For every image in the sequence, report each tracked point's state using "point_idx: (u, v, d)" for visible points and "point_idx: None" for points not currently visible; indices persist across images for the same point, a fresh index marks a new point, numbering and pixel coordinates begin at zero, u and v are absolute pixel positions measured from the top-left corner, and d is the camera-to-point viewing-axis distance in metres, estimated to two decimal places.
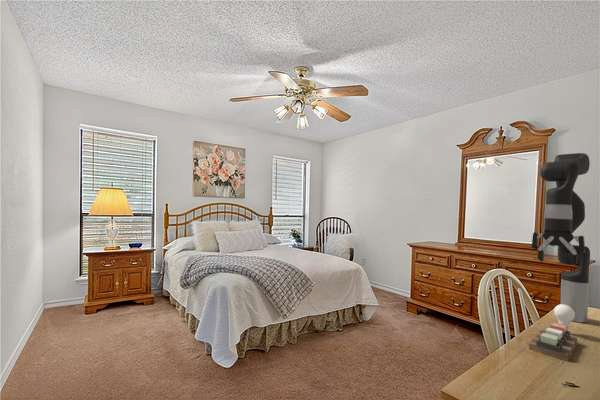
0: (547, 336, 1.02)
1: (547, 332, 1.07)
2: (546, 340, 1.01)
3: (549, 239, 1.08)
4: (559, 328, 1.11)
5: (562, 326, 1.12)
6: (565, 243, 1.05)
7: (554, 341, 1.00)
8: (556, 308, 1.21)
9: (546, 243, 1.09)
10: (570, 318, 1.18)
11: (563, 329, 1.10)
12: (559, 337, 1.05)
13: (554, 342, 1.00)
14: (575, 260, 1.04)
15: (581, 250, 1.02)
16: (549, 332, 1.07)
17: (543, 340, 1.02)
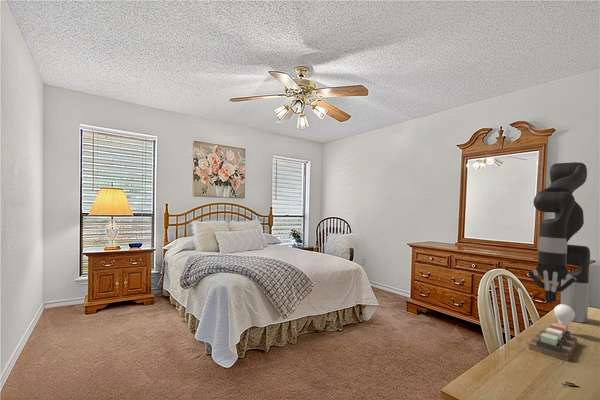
0: (547, 336, 1.02)
1: (547, 332, 1.07)
2: (546, 340, 1.01)
3: (545, 274, 1.02)
4: (559, 328, 1.11)
5: (562, 326, 1.12)
6: (554, 278, 1.01)
7: (554, 341, 1.00)
8: (556, 308, 1.21)
9: (546, 280, 1.02)
10: (570, 318, 1.18)
11: (563, 329, 1.10)
12: (559, 337, 1.05)
13: (554, 342, 1.00)
14: (554, 297, 1.01)
15: (560, 288, 1.00)
16: (549, 332, 1.07)
17: (543, 340, 1.02)
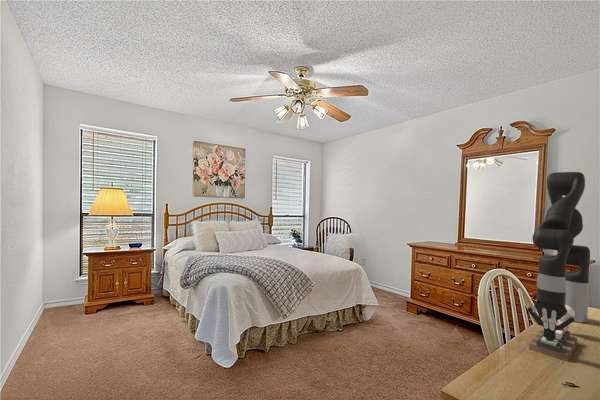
0: None
1: None
2: None
3: (544, 312, 1.02)
4: None
5: None
6: (553, 317, 1.00)
7: (554, 345, 1.00)
8: None
9: (545, 318, 1.02)
10: None
11: (563, 329, 1.10)
12: (559, 337, 1.05)
13: None
14: (553, 336, 1.01)
15: (559, 327, 0.99)
16: None
17: None
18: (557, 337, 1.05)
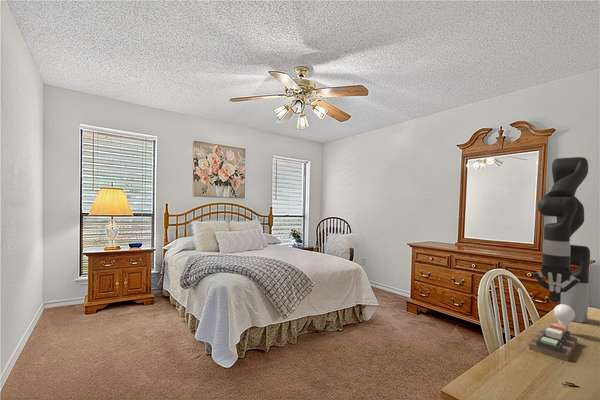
0: (547, 339, 1.02)
1: (547, 332, 1.07)
2: None
3: (549, 276, 1.07)
4: (559, 328, 1.11)
5: (562, 326, 1.12)
6: (558, 280, 1.06)
7: (554, 345, 1.00)
8: (556, 308, 1.21)
9: (551, 281, 1.07)
10: (570, 318, 1.18)
11: (563, 329, 1.10)
12: (559, 337, 1.05)
13: None
14: (558, 298, 1.06)
15: (564, 289, 1.05)
16: (549, 332, 1.07)
17: None
18: (557, 337, 1.05)
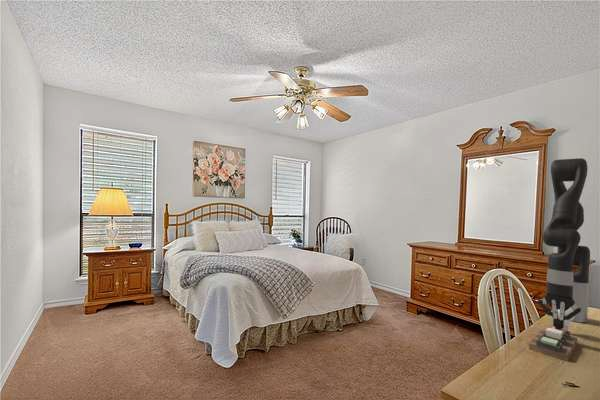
0: (547, 339, 1.02)
1: (547, 332, 1.07)
2: None
3: (553, 304, 1.13)
4: None
5: (562, 329, 1.12)
6: (561, 308, 1.11)
7: (554, 345, 1.00)
8: None
9: (554, 308, 1.12)
10: None
11: (563, 333, 1.10)
12: (559, 337, 1.05)
13: None
14: (561, 325, 1.11)
15: (567, 316, 1.10)
16: (549, 332, 1.07)
17: None
18: (557, 337, 1.05)
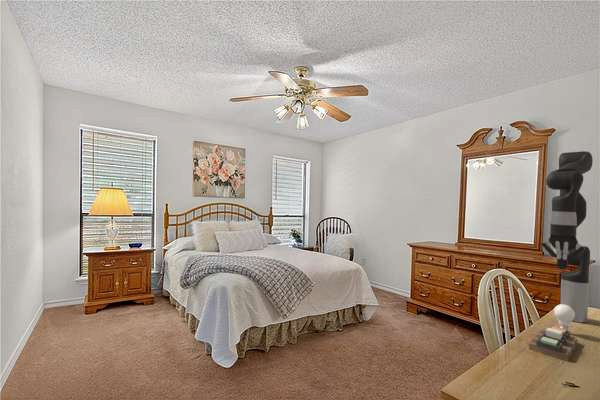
0: (547, 339, 1.02)
1: (547, 332, 1.07)
2: None
3: (557, 244, 1.16)
4: None
5: (562, 330, 1.12)
6: (565, 248, 1.14)
7: (554, 345, 1.00)
8: (556, 308, 1.21)
9: (558, 249, 1.15)
10: (570, 318, 1.18)
11: (563, 333, 1.10)
12: (559, 337, 1.05)
13: None
14: (565, 264, 1.14)
15: (570, 256, 1.13)
16: (549, 332, 1.07)
17: None
18: (557, 337, 1.05)
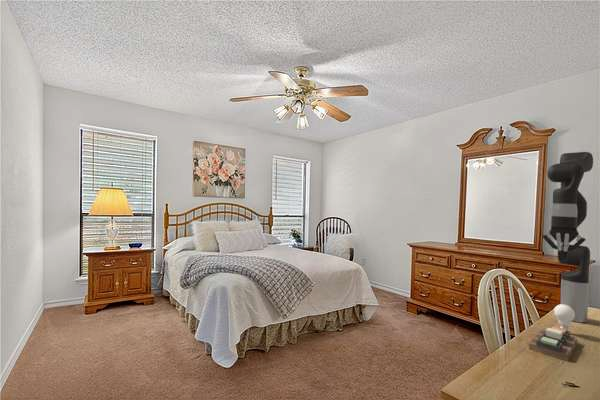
0: (547, 339, 1.02)
1: (547, 332, 1.07)
2: None
3: (558, 236, 1.16)
4: None
5: (562, 330, 1.12)
6: (566, 239, 1.15)
7: (554, 345, 1.00)
8: (556, 308, 1.21)
9: (559, 241, 1.16)
10: (570, 318, 1.18)
11: (563, 333, 1.10)
12: (559, 337, 1.05)
13: None
14: (566, 256, 1.15)
15: (571, 247, 1.14)
16: (549, 332, 1.07)
17: None
18: (557, 337, 1.05)
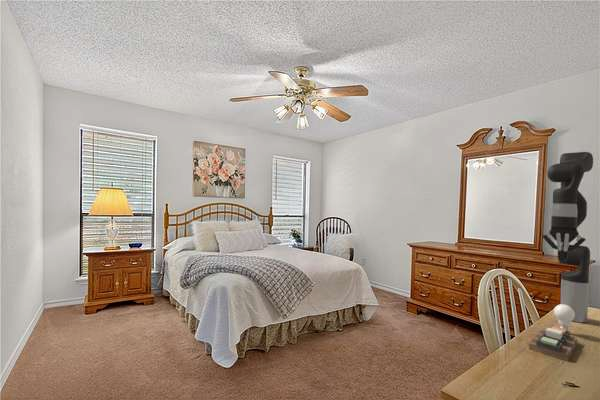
0: (547, 339, 1.02)
1: (547, 332, 1.07)
2: None
3: (558, 236, 1.16)
4: None
5: (562, 330, 1.12)
6: (566, 239, 1.15)
7: (554, 345, 1.00)
8: (556, 308, 1.21)
9: (559, 241, 1.16)
10: (570, 318, 1.18)
11: (563, 333, 1.10)
12: (559, 337, 1.05)
13: None
14: (566, 256, 1.15)
15: (571, 247, 1.14)
16: (549, 332, 1.07)
17: None
18: (557, 337, 1.05)
